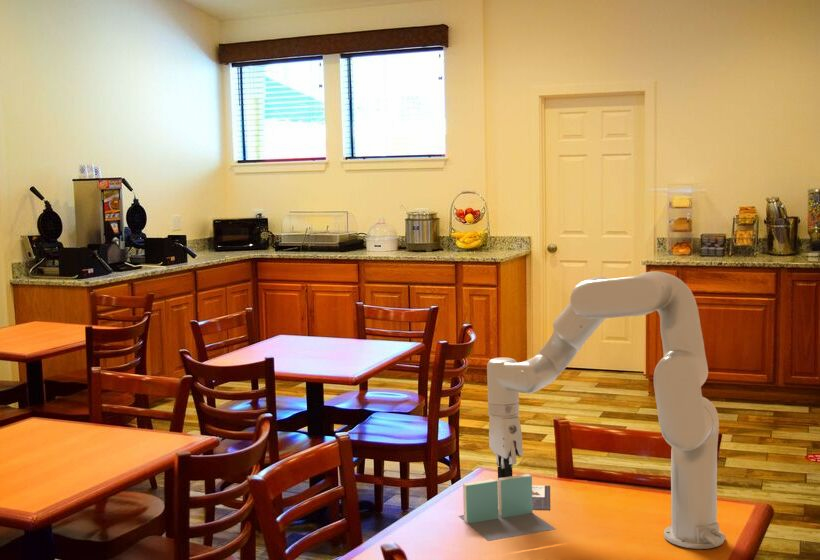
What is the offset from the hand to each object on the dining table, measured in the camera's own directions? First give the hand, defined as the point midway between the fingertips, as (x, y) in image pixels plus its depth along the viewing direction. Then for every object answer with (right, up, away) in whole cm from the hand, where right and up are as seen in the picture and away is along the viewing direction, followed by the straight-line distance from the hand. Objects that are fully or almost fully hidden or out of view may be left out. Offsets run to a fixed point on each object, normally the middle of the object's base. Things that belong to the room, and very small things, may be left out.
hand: (505, 482), depth 216 cm
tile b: (-6, -7, -8) cm, 12 cm away
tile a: (+2, -6, -5) cm, 8 cm away
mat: (-1, -7, -10) cm, 12 cm away
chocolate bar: (+8, -6, +7) cm, 12 cm away
